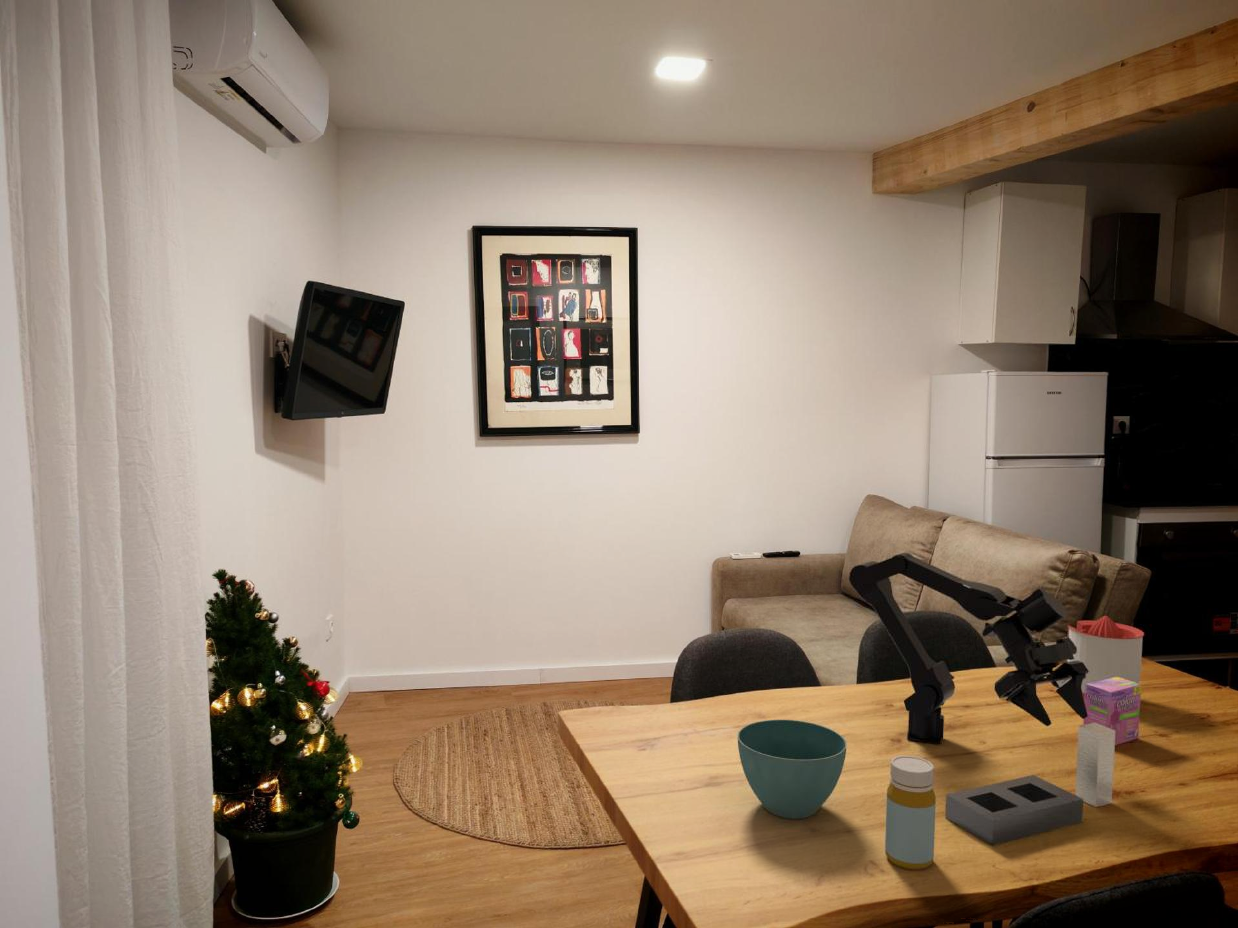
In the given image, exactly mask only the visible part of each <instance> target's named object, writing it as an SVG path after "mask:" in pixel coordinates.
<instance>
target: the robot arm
mask: <svg viewBox="0 0 1238 928" xmlns="http://www.w3.org/2000/svg"><path fill="white" fill-rule="evenodd" d="M898 574H899V575H903V576H904V577H906V578H909V579H910V580H913V581H915V582H917V583H919V584H921V585H923V586H925V587H927V588H929V589H931V590H933V591H935V592H938V593H940V594H941V595H944V596H946V597H949V598H951V599H952V600H953V601H955V602H956V603H957V605H959V606H960V608H962V609H963V610H964V611H966V612H967V613H968V614H970V615H971V616H973V617H975V618H976V619H978V620H980V621H986V622H985V623H984V628H983V631H982V633H981V634H982V636H983V637H986V638H987V637H988V638H995V637H996V639H997V641H998V642H999V644H1000V645H1001V647H1002V648H1003V650H1004V652H1005V653H1006V654H1007V655H1006V658H1005V659H1004V661H1005V662H1006V663H1007V664H1006V665H1011V664H1012V665H1013V666H1014V668H1015V669H1016V670H1011V671H1007V672H1006V673H1005V674H1004V675H1003V676H1001V677H1000V678H999V679H998V680H996V681H995V682H994V692H995V693H996V695H997V696H998V698H999V699H1000V700H1001V699H1005V701H1006V702H1010V703H1012V704H1013V705H1015V706H1016V707H1018V708H1020V709H1021V710H1023V711H1024V712H1026V713H1028V714H1029V715H1030V716H1032V717H1033V718H1035V719H1036V720H1037V721H1038V722H1039V723H1042V724H1043V725H1044V726H1046V727H1050V726H1051V725H1052V721H1051V718H1050V717H1049V714H1048V712H1047V711H1046V708H1045V707H1044V706H1043V704H1042V702H1041V700H1040V699H1039V697H1038V695H1037V685H1041V684H1042V685H1043V684H1048V683H1051V685H1052V686H1053V687H1055V688H1056V690H1055V692H1056V693H1057V694H1058V696H1060V697H1061V698H1062V700H1063V701H1064V702H1065V703H1066V704H1067V705H1068V706H1069V707H1070V708H1071V709H1072V710H1073V711H1074V713H1076V715H1078V716H1079V718H1081V719H1083V720H1084V719H1085V718H1087V717H1088V714H1087V710H1086V706H1085V701H1084V699H1083V695H1082V689H1081V685H1082V681H1083V679H1085V678H1086V674H1087V673H1088V672H1089V671H1088V669H1087V668H1086V666H1085V665H1084V663H1083V662H1080V661H1077V660H1076V661H1070V662H1068V659H1069V660H1073V659H1074V656H1073V654H1076V652H1077V647H1076V646H1075V644H1074V643H1073V642H1072V641H1071V639H1070V638H1069V637H1068V638H1065V637H1063V638H1059V639H1056V643H1054V644H1053V643H1052V644H1049V645H1046V644H1045V642H1042V640H1040V641H1036V640H1035V638H1034V636H1033V635H1032V634H1031V632H1037V633H1039V634H1040V633H1041V634H1042V633H1043V632H1045V631H1047V630H1048V629H1049V628H1051V627H1053V626H1054V625H1056V624H1057V623H1059V622H1060V621H1062V620H1064V619H1065V618H1066V617H1067V611H1066V609H1065V607H1064V605H1063V604H1062V603H1061V601H1060V600H1059V599H1058V598H1056V597H1055V596H1053V595H1052V594H1051V593H1049V592H1047V591H1046V590H1045V589H1044V587H1039V588H1037V589H1035V590H1034V591H1033V592H1032V593H1031V594H1030V595H1029V596H1027V597H1026V598H1025V599H1020V598H1016V597H1014V596H1010V595H1008V594H1006V593H1005V592H1004V591H1003V590H1002V589H1001V588H999V587H996V586H993V585H989V584H986V583H982V582H975V581H971V580H967V579H963V578H960V577H958V576H957V575H954V574H952V573H950V572H948V571H945V570H943V569H941V568H939V567H937V566H935V565H933V564H930V563H928V562H926V561H923V560H921V559H920V558H918V557H916V556H913V554H911V553H910V552H901V553H898V554H895V555H893V556H892V557H889V558H888V559H885V560H883V561H880V562H878V561H876V560H875V561H874V560H872V561H871V560H870V561H868V562H864V563H863V562H862V563H861V564H857V565H855V566H854V567H852V568H851V570H850V572H849V576H848V582H849V584H850V585H851V586H850V587H852V588H853V589H854V591H855V592H856V593H857V595H858V596H859V597H860V598H861V599H862V600H863V601H865V602H866V603H868V604H869V605H870V606H871V607H872V608H873V610H874V611H875V613H876V614H877V616H878V617H879V619H880V621H881V623H882V625H883V626H884V628H885V629H886V631H887V633H888V635H889V636H890V638H891V640H892V641H893V644H895V647H896V648H897V650H898V652H899V653H900V655H901V656H902V658H903V660H904V662H905V663H906V665H907V666H908V670H909V677H910V683H911V686H912V688H913V691H914V693H912V694H911V695H909V696H908V697H907V698H905V699H904V700H903V703H904V707H905V710H906V711H907V712H908V723H907V724H908V725H907V735H906V739H907V740H908V741H915V742H922V743H927V744H928V743H929V744H935V745H940V744H941V743H942V742H941V740H942V739H944V734H945V733H944V729H945V715H943V714H942V707H943V706H944V705H945V703H946V701H947V700H949V699H951V698H952V697H953V695H954V694H955V689H956V685H955V683H954V679H955V676H954V675H952V674H951V673H950V671H949V669H948V666H947V664H946V662H945V661H944V660H941V661H939V662H936V661H935V660H934V659H932V658H931V657H930V656H929V654H928V653H927V651H926V649H925V648H924V646H923V644H922V642H921V641H920V639H919V637H918V636H917V634H916V632H915V631H914V629H913V628H912V625H911V624H910V623H909V621H908V619H907V617H906V616H905V614H904V612H903V610H902V609H901V608H900V606H899V604H898V603H897V601H896V599H895V597H894V595H893V588H892V587H893V586H892V582H891V580H890V578H891V577H894V576H896V575H898ZM1014 612H1015V613H1014ZM1012 613H1013V614H1012ZM1009 615H1010V616H1009ZM1007 616H1009V617H1007ZM996 617H1000V618H998V619H997V620H996V621H994V622H993V623H992V622H987V621H990V620H993V619H996ZM1066 660H1067V661H1066ZM1060 662H1063V663H1062V664H1060ZM1054 668H1055V669H1054Z"/></svg>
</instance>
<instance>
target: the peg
mask: <svg viewBox="0 0 1238 928" xmlns="http://www.w3.org/2000/svg"><path fill="white" fill-rule="evenodd" d="M1077 735H1078V737H1077V754H1076V755H1077V757H1076V772H1075V773H1076V774H1075V775H1076V776H1075V779H1076V780H1075V793H1074V795H1076V796H1078V797H1080V798H1082V799H1083V803H1086V804H1088V805H1090V806H1092V807H1094V808H1098V806H1099V807H1102V806H1105V805H1109V804H1113V803H1112V801H1113V786H1114V768H1115V765H1114V764H1115V749H1116V748H1115V746H1116V745H1115V730H1113V729H1110V728H1107V727H1105V726H1102V725H1100V724H1097V723H1090V724H1086V725H1083V724H1081V725H1078V734H1077Z"/></svg>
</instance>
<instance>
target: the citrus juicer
mask: <svg viewBox="0 0 1238 928" xmlns="http://www.w3.org/2000/svg"><path fill="white" fill-rule="evenodd" d="M1068 637H1069V638H1070V639H1071V641H1072V642H1073V643H1074V644H1075V646H1076V647H1077V652H1076V654H1073V656H1074V659H1073V660H1069V659H1068V660H1067V662H1070V661H1076V660H1077V661H1080V662H1083V663H1084V665H1085V666H1086V668H1087V669H1088V671H1089V672H1088V673H1087V674H1086V678H1085V679H1083V681H1082V685H1081V689H1082V695H1083V699H1084V702H1085V686H1086V684H1089V683H1093V682H1097V681H1101V680H1105V679H1109V678H1113V677H1119V678H1123V679H1126V680H1129V681H1133V682H1136V683H1139V684H1140V679H1141V673H1142V672H1141V671H1142V656H1143V655H1142V653H1143V638H1144V637H1145V632H1143V630H1141V629H1139V628H1136V627H1134V626H1130V625H1126V624H1123V623H1117V622H1115V621H1113V620H1112V619H1111V618H1110V617H1109V616H1108V615H1103V616H1101V617H1100V618H1099V619H1097V620H1091V619H1090V620H1089V619H1088V620H1087V619H1086V620H1077V622H1076V628H1075V627H1073V626H1072V625H1069V624H1068V625H1067V636H1066V637H1064V638H1068Z"/></svg>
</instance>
